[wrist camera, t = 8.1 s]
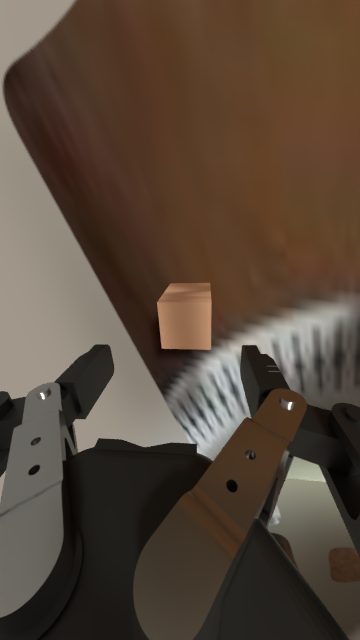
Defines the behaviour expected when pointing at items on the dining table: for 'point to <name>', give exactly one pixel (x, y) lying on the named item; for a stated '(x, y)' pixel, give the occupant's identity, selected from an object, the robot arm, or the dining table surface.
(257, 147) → the dining table surface
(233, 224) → the dining table surface
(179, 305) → the terracotta block
